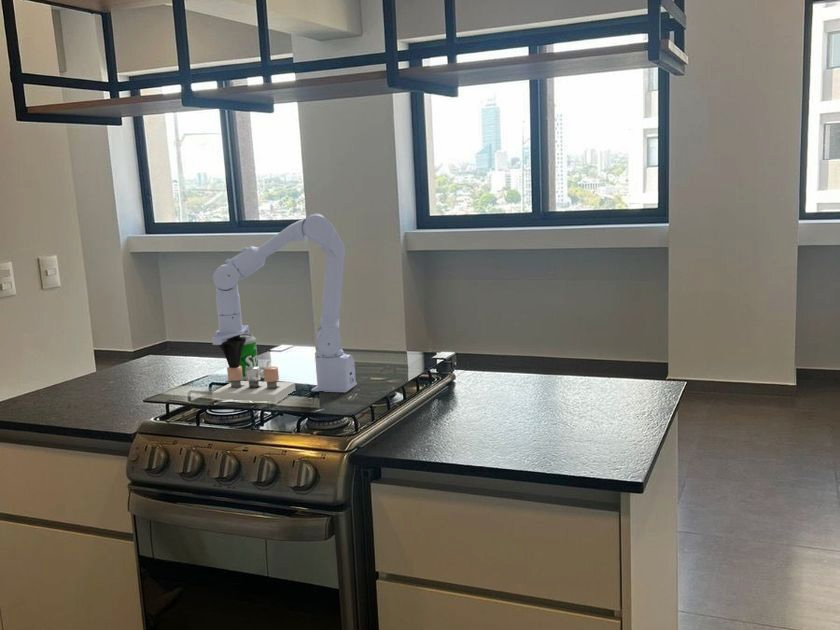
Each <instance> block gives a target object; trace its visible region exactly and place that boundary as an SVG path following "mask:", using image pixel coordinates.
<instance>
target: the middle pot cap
mask: <svg viewBox="0 0 840 630" xmlns="http://www.w3.org/2000/svg"><path fill="white" fill-rule="evenodd" d="M245 375H246V381H249V388H250V389H254V388H258V387H259V381H260V380H261V379H262V378H261V377H262V376H261V367H260V366H259V365H258V366H250V367H246V368H245Z"/></svg>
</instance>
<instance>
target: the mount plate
mask: <svg viewBox="0 0 840 630" xmlns="http://www.w3.org/2000/svg"><path fill="white" fill-rule="evenodd" d="M258 381H259V387H258V388H254V389H250V388H249V381H241V387H239V388H231V382H229V383H228V384H226V385H224V386H222V387H220V388H217V389H216V390H214V391H212V399H213V398H220V399H233V400H251V401H252V400H253V401H272V402H276V401H278V400H279V399H281V398H283V397H285V396H287V395H288V394H290V393H292V392H293V391H296V382H292V381H291V382H290V381H277V388H276V389H267V382H265V381H260V380H258Z"/></svg>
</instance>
